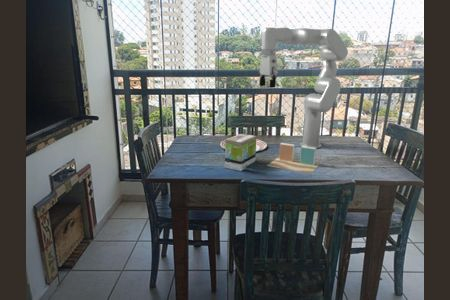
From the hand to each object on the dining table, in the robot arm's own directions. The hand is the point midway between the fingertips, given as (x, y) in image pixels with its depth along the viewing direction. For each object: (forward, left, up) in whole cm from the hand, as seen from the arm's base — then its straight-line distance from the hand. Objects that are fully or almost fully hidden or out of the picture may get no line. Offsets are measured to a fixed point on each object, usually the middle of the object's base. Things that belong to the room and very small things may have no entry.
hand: (267, 86), depth 172 cm
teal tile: (+9, +27, -36) cm, 46 cm away
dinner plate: (-2, -15, -38) cm, 41 cm away
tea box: (+25, -3, -38) cm, 45 cm away
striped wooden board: (+14, +21, -37) cm, 45 cm away
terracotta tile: (+9, +16, -36) cm, 41 cm away
